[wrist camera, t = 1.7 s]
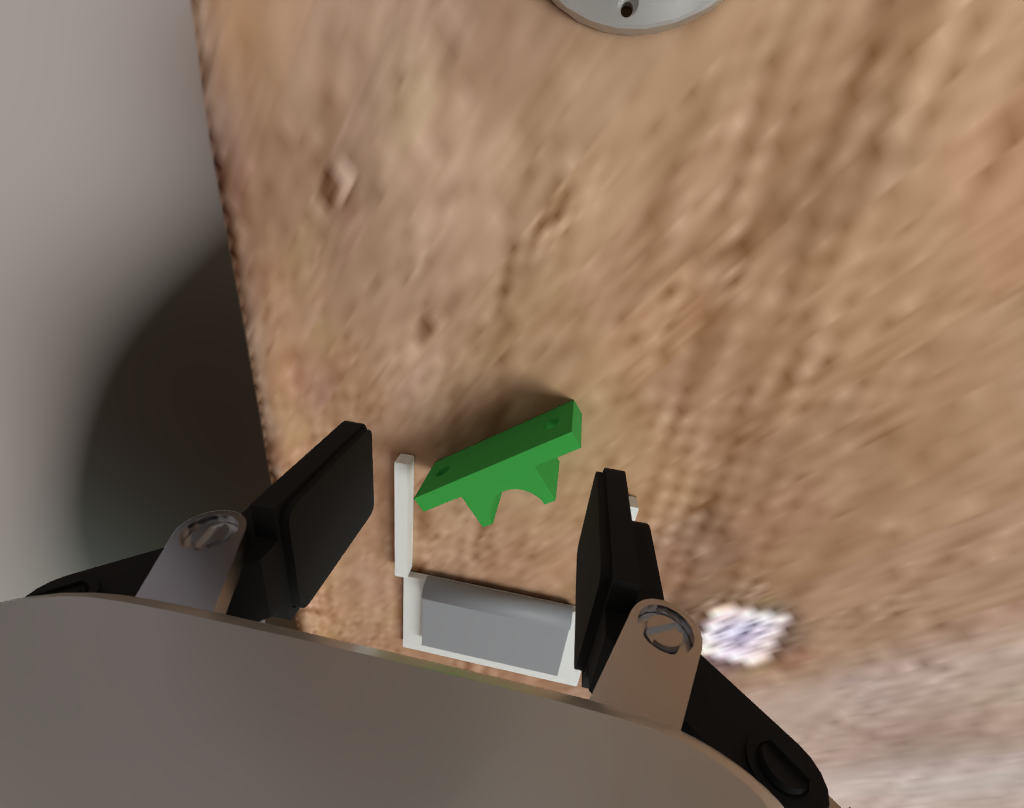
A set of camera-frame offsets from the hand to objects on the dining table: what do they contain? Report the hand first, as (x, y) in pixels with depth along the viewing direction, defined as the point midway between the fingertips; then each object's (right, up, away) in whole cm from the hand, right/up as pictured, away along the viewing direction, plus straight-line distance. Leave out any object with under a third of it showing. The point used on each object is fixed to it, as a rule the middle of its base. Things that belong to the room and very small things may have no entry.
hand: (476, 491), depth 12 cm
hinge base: (0, -12, +23) cm, 26 cm away
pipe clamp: (+1, -1, +18) cm, 18 cm away
